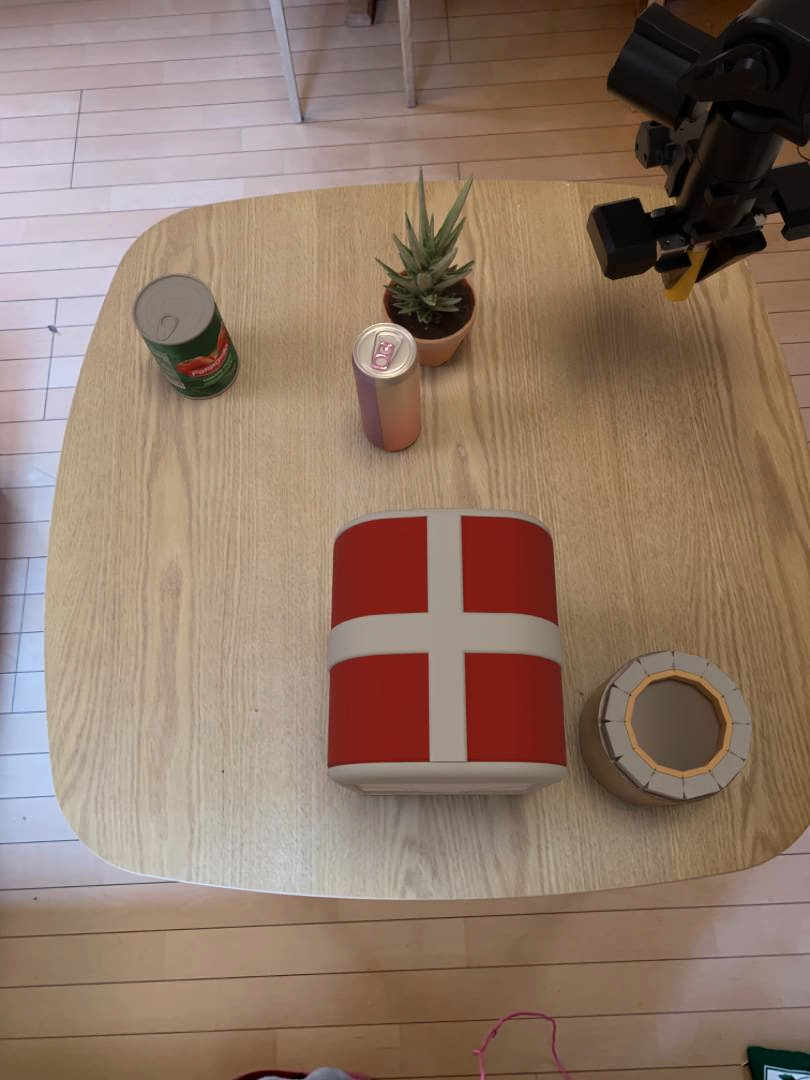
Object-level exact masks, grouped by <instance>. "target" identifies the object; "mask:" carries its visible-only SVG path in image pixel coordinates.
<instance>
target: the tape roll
mask: <svg viewBox="0 0 810 1080" xmlns="http://www.w3.org/2000/svg"><path fill="white" fill-rule="evenodd" d="M664 651H665V652H661V653H657V654H653V655H649V656H645V657H641V658H639V659H638V660H637V661H636V660H635V661H634V662H633V663H632V664H631V665H630V666H629V667H628V668H627V669H626V670H625V671H624V672H623V673H622V674H621V675H620V676H619V677H618V678H617V679H616V680H615V681H614V682H613V683H612V684H611V685H610V687H611V688H609V689H608V692H607V697H606V701H605V706H604V710H603V715H602V720H601V721H602V722H605V723H604V724H603V725H602V729H603V732H604V735H605V739H606V742H607V745H608V748H609V751H610V755H611V758H612V759H613V758H617V757H618V758H617V759H616V760H615V764H616V765H617V766H618V767H619V768H620V769H621V770H622V771H623V772H624V773H625V774H626V775H627V776H629V777H630V778H631V779H632V780H633V781H634V782H635V783H636V784H637V785H638V786H639V787H644V790H646V791H649V792H653V793H656V794H659V795H663V796H666V797H670V798H673V799H676V800H678V799H681V800H685V799H690V798H694V797H698V796H701V795H705V794H709V793H713V792H717V791H720V789H722V788H724V787H725V786H726V785H727V784H728V783H729V782H730V781H731V780H732V779H733V777H734V776H735V775H736V774H737V773H738V772H739V773H740V771H741V770H742V769H743V767H744V766H745V765H746V762H745V761H748V760H749V753H750V749H751V741H752V735H753V729H754V726H753V725H751V723H753V720H752V716H751V714H750V712H749V709H748V707H747V703H746V701H745V698H744V696H743V693H742V690H741V688H737V687H738V684H737V683H736V682H735V681H734V680H733V679H732V678H731V677H729V676H728V675H727V674H726V673H725V672H724V671H723V670H722V669H721V668H719V667H718V666H717V665H716V664H715V663H714V662H713V661H709V659H708V658H705V657H701V656H698V655H695V654H691V653H687V652H684V651H679V650H664ZM671 651H673V652H671ZM708 661H709V662H708ZM707 662H708V664H707ZM669 678H671V679H675V680H679V681H682V682H686V683H689V684H693V685H695V686H696V687H697V688H698V689H699V690H700V691H701V692H702V693H703V694H704V695H705V696H707V697H708V698H709V699H710V700H711V701H712V702H713V705H714V708H715V711H716V713H717V716H718V719H719V722H720V724H721V728H720V734H719V740H718V745H717V750H716V751H715V752H714V753H713V754H712V755H711V756H710V757H709V759H708V760H707V761H706V762H705V763H704V764H703V765H702V766H701V767H698V768H695V769H691V770H687V771H683V772H681V771H678V770H674V769H671V768H668V767H664V766H661V765H657V764H656V763H655V762H654V761H653V760H652V759H651V758H650V757H649V756H648V755H647V754H646V753H645V752H644V751H643V750H642V749H641V748H640V747H639V746H638V743H637V740H636V737H635V734H634V731H633V728H632V725H631V717H632V712H633V707H634V702H635V698H636V697H637V696H638V695H639V694H640V693H641V692H642V691H643V689H644V688H645V687H646V686H647V685H648V684H649V683H653V682H657V681H661V680H665V679H669ZM736 688H737V689H736ZM734 689H736V690H734ZM748 724H749V725H748ZM744 760H745V761H744ZM739 773H738V774H739ZM738 774H737V775H738ZM724 789H725V788H724ZM720 792H721V791H720Z"/></svg>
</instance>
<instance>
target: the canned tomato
mask: <svg viewBox="0 0 810 1080" xmlns="http://www.w3.org/2000/svg"><path fill="white" fill-rule="evenodd" d="M131 317H132V322H133V325H134V328H135V329H136V331H138V333H139V335H140V336H141V338H142V339H143V342H144V343H145V345H146V346H147V348H148V349H149V351H150V353H151V355H152V356H153V358H154V360H155V361H156V363H157V365H158V366H159V368H160V369H161V371H162V373H163V375H164V376H165V378H166V380H167V381H168V384H169V385H170V387H171V388H172V389H173V390H174V391H175V392H176V393H177V394H178V395H180V396H182V397H184V398H187V399H190V400H207V399H211V398H214V397H217V396H219V395H221V394H222V393H224V392H226V391H227V390H228V389H229V388H230V387H231V386H232V385H233V383H234V382H235V381H236V379H237V376H238V374H239V370H240V357H239V354H238V352H237V350H236V348H235V346H234V343H233V341H232V338H231V336H230V334H229V333H230V332H229V331H228V328H227V326H226V324H225V322H224V319H223V316H222V314H221V311H220V309H219V308H218V305H217V302H216V300H215V298H214V295H213V292H212V290H211V288H210V287H209V286H208V285H207V284H206V282H204V281H203V280H201V279H200V278H198V277H196V276H194V275H191V274H188V273H181V272H175V273H174V272H173V273H168V274H163V275H160V276H158V277H156V278H154V279H152V280H150V281H149V282H148V283H146V284H145V285H144V286H143V287H142V288H141V289H140V290H139V291H138V293H137V295H136V296H135V298H134V300H133V303H132V307H131Z"/></svg>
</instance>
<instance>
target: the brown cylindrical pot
mask: <svg viewBox="0 0 810 1080" xmlns="http://www.w3.org/2000/svg"><path fill="white" fill-rule="evenodd" d="M665 651H666V650H659V651H658V650H657V651H652V652H647V653H645V654H641V655H638V656H636V657H634V658H632V659H630V660H629V661H627V662H626V663H624V664H623V665H622V666H621V667H619V669H617V670H616V671H615V672H614V673H613V674H612V675H610V676H609V677H608V678H607V679H605V680H604V681H603V682H602V683H601V684H600V685H599V686H598V687H597V688H596V689H595V690H594V691H593V692H592V693H591V694H590V696H589V697H588V699H587V701H586V702H585V704H584V707H583V708H582V711H581V715H580V719H579V724H578V742H579V746H580V747H579V748H580V752H581V755H582V757H583V760H584V763H585V765H586V766H587V769H588V770H589V772H590V773H591V775H592V776H593V777H594V779H595V780H596V781H597V782H598V784H600V785H601V787H603V788H604V789H605V790H606V791H607V792H609V793H610V794H611V795H613V796H614V797H616V798H618V799H619V800H622V801H625V802H627V803H630V804H633V805H636V806H637V805H638V806H642V807H661V806H662V807H663V806H671V805H681V804H690V803H697V802H701V801H703V800H706V799H709V798H712V797H713V796H716V795H717V794H719V793H721V791H723V790H725V789H726V788H727V787H728V786H729V785H730V784H731V783H732V782H733V781H734V780H735V778H736V777H737V776H738V775H739V773H740V771H739V772H738V773H737V774H736V775H735V776H734V777H733V779H732V780H731V781H730V782H729V783H728V784H727V785H726V786H725V787H724V788H722V789H720V791H717V792H713V793H709V794H705V795H701V796H698V797H694V798H690V799H685V800H681V799H678V800H676V799H673V798H670V797H666V796H663V795H659V794H656V793H653V792H649V791H646V790H644V787H639V786H638V785H637V784H636V783H635V782H634V781H633V780H632V779H631V778H630V777H629V776H627V775H626V774H625V773H624V772H623V771H622V770H621V769H620V768H619V767H618V766H617V765H616V764H615V760H616V759H617V758H618V757H617V758H613V759H612V758H611V755H610V751H609V748H608V745H607V742H606V739H605V735H604V732H603V729H602V725H603V724H604V723H605V722H602V721H601V720H602V715H603V710H604V706H605V701H606V697H607V692H608V689H609V688H611V687H610V685H611V684H612V683H613V682H614V681H615V680H616V679H617V678H618V677H619V676H620V675H621V674H622V673H623V672H624V671H625V670H626V669H627V668H628V667H629V666H630V665H631V664H632V663H633V662H634V661H635V660H636V661H637V660H638V659H639V658H641V657H645V656H649V655H653V654H657V653H661V652H665ZM670 651H671V652H673V651H674V650H670ZM708 663H709V662H707V664H708ZM734 690H737V689H736V688H735V689H734ZM631 725H632V728H633V731H634V734H635V737H636V740H637V743H638V746H639V747H640V748H641V749H642V750H643V751H644V752H645V753H646V754H647V755H648V756H649V757H650V758H651V759H652V760H653V761H654V762H655V763H656V764H657V765H661V766H664V767H668V768H671V769H674V770H678V771H681V772H683V771H687V770H691V769H695V768H698V767H701V766H702V765H703V764H704V763H705V762H706V761H707V760H708V759H709V757H710V756H711V755H712V754H713V753H714V752H715V751H716V750H717V745H718V740H719V734H720V728H721V724H720V722H719V719H718V716H717V713H716V711H715V708H714V705H713V702H712V701H711V700H710V699H709V698H708V697H707V696H705V695H704V694H703V693H702V692H701V691H700V690H699V689H698V688H697V687H696V686H695V685H693V684H689V683H686V682H682V681H679V680H675V679H671V678H669V679H665V680H661V681H657V682H653V683H649V684H648V685H647V686H646V687H645V688H644V689H643V691H642V692H641V693H640V694H639V695H638V696H637V697H636V698H635V702H634V707H633V712H632V717H631ZM748 725H750V723H749V724H748ZM745 761H746V760H744V762H745Z"/></svg>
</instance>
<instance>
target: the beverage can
mask: <svg viewBox="0 0 810 1080" xmlns="http://www.w3.org/2000/svg"><path fill="white" fill-rule="evenodd" d="M351 366H352V371H353V377H354V382H355V387H356V393H357V400H358V405H359V411H360V416H361V422H362V429H363V432H364V435H365V437H366V438H367V441H369V442H370V443H371V444H372V445H373V446H375V447H376V448H378V449H380V450H384V451H399V450H403V449H405V448H407V447H409V446H410V445H412V444H413V443H414V442H415V441H416V440H417V438H418V437H419V435H420V432H421V429H422V405H421V404H422V403H421V401H422V399H421V397H422V395H421V368H420V367H421V365H420V361H419V350H418V347H417V345H416V342H415V339H414V338H413V336H412V335H411V333H410V332H409V331H408V330H406V329H405V328H404V327H402V326H400V325H397V324H394V323H385V322H378V323H373V324H371V325H369V326H367V327H366V328H364V329H363V330H362V331H361V332H360V333H359V334H358V335H357V336H356V338H355V339H354V342H353V345H352V351H351Z"/></svg>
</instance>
